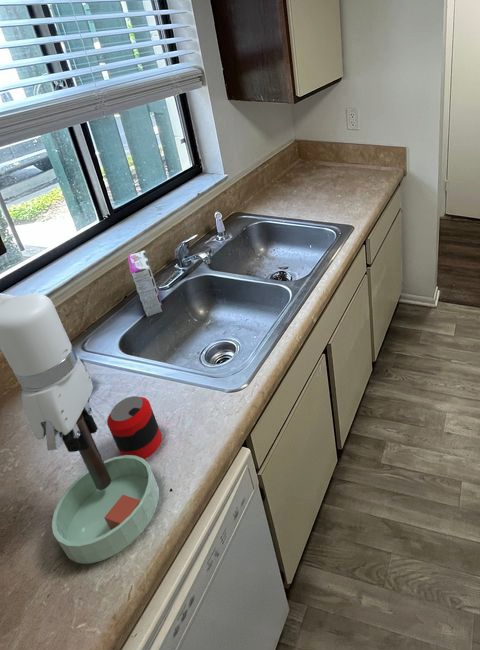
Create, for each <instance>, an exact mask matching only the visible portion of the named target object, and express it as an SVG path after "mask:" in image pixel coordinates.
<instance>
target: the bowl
mask: <svg viewBox="0 0 480 650" xmlns="http://www.w3.org/2000/svg"><path fill="white" fill-rule="evenodd" d="M103 462H104V464H105V466H106V469H107V471H108V473H109V475H110V477H111V483H110V485H109V486H108V487H107V488H105V489H103V490H98V489H97V488H96V486H95V484H94V482H93V479H92V477H91V475H90V473H89V471H88V470H87V471H85V472H84V473H83V474H81V475H80V476H78V478H77V479H76V480H75V481H74V482H73V483H72V484H70V486H69V487H68V488H67V489H66V491H65V493H63V495H62V496H61V498H60V499H59V501H58V503H57V504H56V507H55V509H54V512H53V516H52V520H51V530H52V535H53V537H54V538H55V539H56V541H57V542H58V544H59V546H60V547H61V549H62V551H63V552H64V553H65V555H66V557H67V558H68V559H69V560H70V561H73V562H74V563H77V564H83V565H84V564H87V565H88V564H95V563H99V562H102V561H105V560H107V559H110V558H111V557H114V556H115V555H117V554H118V553H121V552H122V551H123V550H125V549H126V548H127V547H128V546H129V545H131V544H132V543H133V542H134V541H135V540H136V539H137V538H138V537H139V536H140V535H141V534H142V533H143V532H144V531H145V529H146V528H147V526H148V525H149V524H150V523H151V521H152V518H153V517H154V514H155V512H156V510H157V507H158V503H159V500H160V488H159V485H158V483H157V480H156V477H155V475H154V472H153V471H152V468H151V465H150V464H149V462H148V461H147V460H146V459H145V460H144V459H143V458H140V457H138V456H135V455H123V456H121V455H118V456H114V457H111V458H109V459H106V460H103ZM122 495H126V496H129V497H132V498H135V499H137V500H140V503H139V504H138V506H137V507H136V508H135V509H134V511H133V512H132V513H131V514H130V515H129V516H128V517H127V518H126V519H125V520H124V521H123V522H122V523H121V524H120V525H118V526H117V527H115V528H114V529H112V530H110V528H109V526H108V524H107V522H106V520H105V518H104V517H105V516H106V515H107V514H108V512H109V511H110V510H111V509H112V507H113V506H114V505H115V504H116V502H117V501H118V500H119V499H120V497H121V496H122Z"/></svg>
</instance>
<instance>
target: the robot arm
mask: <svg viewBox="0 0 480 650" xmlns="http://www.w3.org/2000/svg"><path fill="white" fill-rule="evenodd" d="M72 345H73V344H72V343H71V340H70V338H69V336H68V334H67V332H66V329H65V326H64V325H63V323H62V321H61V318H60V316H59V314H58V311H57V310H56V306H55V304H54V303H53V301H52V299H51V298H50V297H48V296H47V295H45V294H41V293H27V294H23V295H14V294H6V293H1V292H0V351H1V352H2V354H3V356H4V358H5V360H6V361H7V364H8V366H9V367H10V369H11V371H12V372H13V374H14V376H15V378H16V380H17V382H18V384H19V385H20V387H21V389H22V390H21V393H20V395H21V402H22V407H23V411H24V414H25V415H26V416H25V417H26V419H27V422H28V424H29V426H30V429H31V431H32V433H33V435H34V436H35V438H36V439H37V440H44V439H45V438H46V448H47V450H48V451H54V450H58V449H59V448H61V446H62V445H64V446H65V448H66V449H67V452H68V453H75V452H79V451H80V450H86V449H88V448H89V446H90V444H89V441H88V439H87V437H86V435H85V433H84V431H80V430H79V428H78V425H77V423H76V422H77V420H78V418H79V416H80V415H81V414H82V415H83V417H84V420H85V422H86V424H87V426H88V428H89V431H90V433H91V435H92V434H95V433H97V432H98V429H99V428H98V426H97V424H96V421H95V419H94V417H93V415H92V412H93V411H92V410H93V409H92V407H91V404H90V399H91V398H90V397H91V395H92V393H93V391H94V383H93V384H92V382H93V380H92V377H91V375H90V374H88V373H89V371H88V369H87V367H86V368H85V366H86V365H85V366H84V365H83V363H82V362H81V360H82V359H81V358H79V355H77V354H76V351H75V349H74V347H73V346H72ZM80 359H81V360H80ZM86 369H87V370H86ZM87 371H88V372H87ZM89 375H90V376H89ZM91 380H92V381H91Z"/></svg>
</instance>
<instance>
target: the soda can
mask: <svg viewBox="0 0 480 650" xmlns="http://www.w3.org/2000/svg"><path fill="white" fill-rule="evenodd" d="M106 425H107V427H108V429H109V432H110V434H111V436H112V438H113V441H114V443H115V445H116V447H117V450H118V451H119V454H120V456H123V455H135V456H138V457H140V458H143V459H144V460H145V461H146V459H148V458H150V457H151V456H152V455H153V454H154V453H155V452H156V451H157V450H158V449H159V447H160V446H161V444H162V441H163V435H162V432H161V430H160V427H159V425H158V422H157V419H156V416H155V413H154V410H153V408H152V406H151V403H150V401H149V399H147V398H146V397H144V396H138V395H137V396H136V395H134V396H133V395H132V396H129V397H125V398H124V399H122V400H120V401H119V402H117V403H116V404H115V405H114V406H113V407H112V410H111V411H110V413H109V415H108V416H107V419H106Z"/></svg>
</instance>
